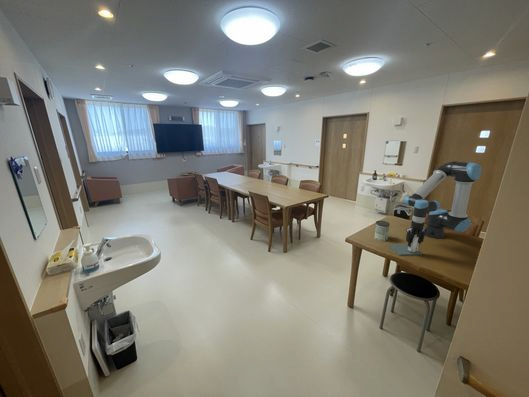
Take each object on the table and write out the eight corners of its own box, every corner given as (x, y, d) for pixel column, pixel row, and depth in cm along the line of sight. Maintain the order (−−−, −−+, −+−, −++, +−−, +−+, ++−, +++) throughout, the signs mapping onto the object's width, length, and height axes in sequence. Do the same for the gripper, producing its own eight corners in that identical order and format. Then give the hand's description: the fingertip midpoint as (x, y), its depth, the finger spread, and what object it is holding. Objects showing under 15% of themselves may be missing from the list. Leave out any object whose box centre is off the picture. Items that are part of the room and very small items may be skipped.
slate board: (409, 245, 170) (409, 243, 169) (422, 254, 156) (422, 253, 156) (388, 246, 169) (388, 244, 169) (399, 255, 156) (399, 254, 156)
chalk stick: (413, 249, 161) (415, 235, 157) (416, 252, 157) (419, 237, 153) (407, 249, 160) (410, 235, 157) (411, 252, 157) (414, 237, 153)
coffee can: (372, 234, 189) (374, 220, 185) (385, 235, 186) (387, 221, 182) (375, 240, 179) (377, 224, 175) (388, 241, 177) (391, 225, 173)
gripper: (425, 218, 155) (420, 247, 162) (403, 219, 155) (398, 248, 162) (434, 222, 148) (427, 252, 155) (410, 223, 148) (404, 253, 155)
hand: (412, 250), depth 158 cm, fingers closed on chalk stick, 4 cm apart
